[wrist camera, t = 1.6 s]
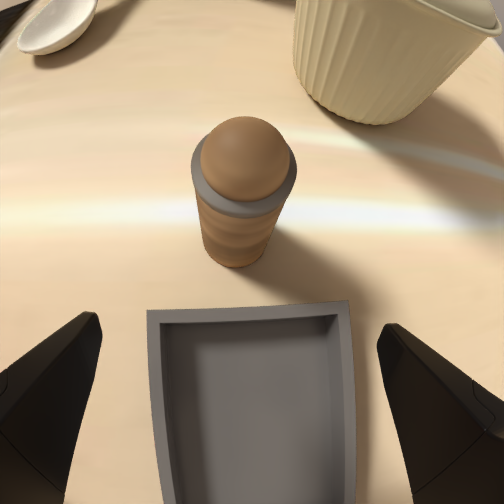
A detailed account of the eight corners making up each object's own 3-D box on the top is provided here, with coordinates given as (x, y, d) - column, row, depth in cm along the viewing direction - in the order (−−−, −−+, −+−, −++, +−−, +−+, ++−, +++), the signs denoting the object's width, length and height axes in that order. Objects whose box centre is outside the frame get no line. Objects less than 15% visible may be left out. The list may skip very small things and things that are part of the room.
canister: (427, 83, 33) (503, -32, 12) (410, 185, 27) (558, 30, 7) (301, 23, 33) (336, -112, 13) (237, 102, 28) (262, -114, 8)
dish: (338, 513, 18) (353, 532, 15) (178, 528, 17) (173, 551, 14) (330, 307, 23) (348, 300, 20) (157, 315, 22) (146, 309, 19)
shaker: (269, 267, 24) (317, 187, 12) (202, 269, 23) (184, 188, 11) (265, 206, 25) (300, 93, 13) (201, 207, 25) (189, 92, 13)
